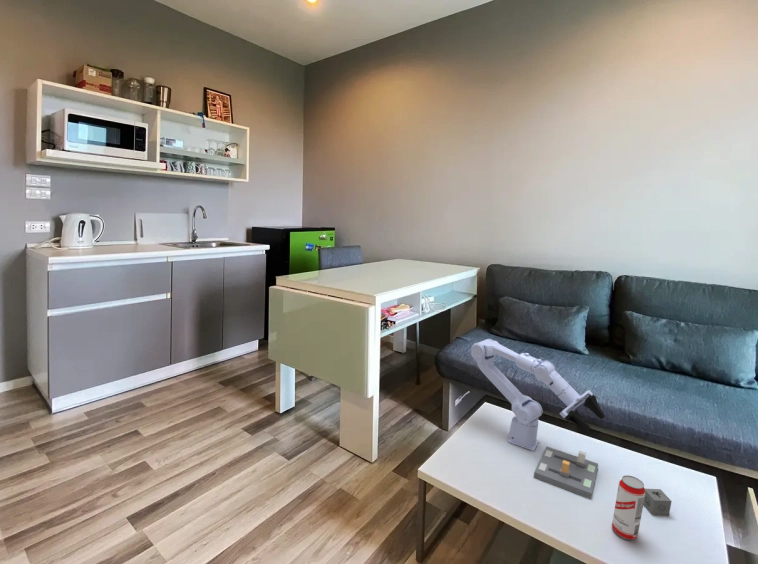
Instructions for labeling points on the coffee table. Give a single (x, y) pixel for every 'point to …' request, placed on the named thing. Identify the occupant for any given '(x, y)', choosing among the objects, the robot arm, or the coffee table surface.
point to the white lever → (581, 459)
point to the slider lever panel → (579, 476)
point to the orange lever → (565, 469)
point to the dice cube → (657, 502)
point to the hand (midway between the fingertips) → (596, 424)
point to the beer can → (628, 507)
